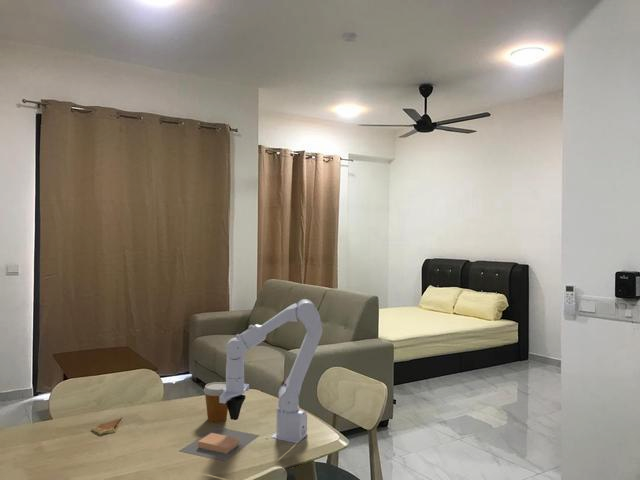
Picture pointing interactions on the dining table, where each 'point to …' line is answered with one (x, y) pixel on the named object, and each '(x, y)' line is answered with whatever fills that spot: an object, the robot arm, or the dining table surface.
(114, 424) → the pizza slice
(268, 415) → the dining table surface
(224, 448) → the terracotta tile
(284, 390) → the robot arm
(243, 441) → the rubber mat
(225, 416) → the disposable coffee cup
